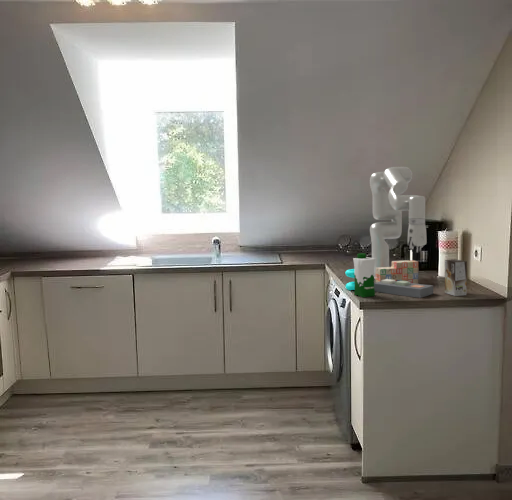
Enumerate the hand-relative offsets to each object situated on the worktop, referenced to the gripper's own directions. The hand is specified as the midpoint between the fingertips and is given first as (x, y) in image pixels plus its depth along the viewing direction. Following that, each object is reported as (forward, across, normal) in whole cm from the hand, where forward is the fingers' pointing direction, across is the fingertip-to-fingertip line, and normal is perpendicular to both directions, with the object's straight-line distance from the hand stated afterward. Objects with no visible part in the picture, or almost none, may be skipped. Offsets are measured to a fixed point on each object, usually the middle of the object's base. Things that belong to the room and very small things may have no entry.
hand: (416, 260), depth 255 cm
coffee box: (+16, +9, -15) cm, 24 cm away
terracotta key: (+15, -3, -2) cm, 15 cm away
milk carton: (+16, -20, +15) cm, 30 cm away
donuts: (+17, -10, +28) cm, 34 cm away
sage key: (+14, -3, +6) cm, 15 cm away
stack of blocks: (+17, +14, +20) cm, 30 cm away
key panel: (+16, -3, +6) cm, 17 cm away
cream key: (+14, -3, +14) cm, 20 cm away
